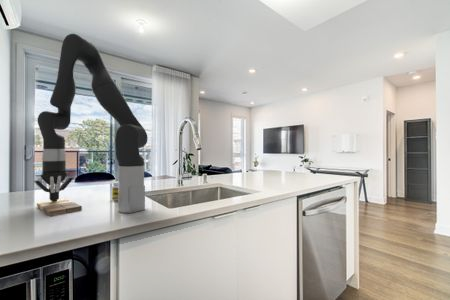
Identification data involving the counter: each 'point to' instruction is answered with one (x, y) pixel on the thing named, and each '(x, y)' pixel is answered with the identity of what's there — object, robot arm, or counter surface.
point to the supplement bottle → (115, 191)
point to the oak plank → (52, 203)
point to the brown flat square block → (61, 208)
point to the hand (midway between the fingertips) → (54, 201)
